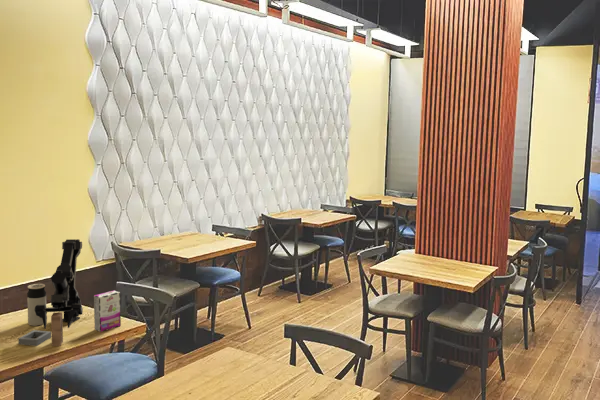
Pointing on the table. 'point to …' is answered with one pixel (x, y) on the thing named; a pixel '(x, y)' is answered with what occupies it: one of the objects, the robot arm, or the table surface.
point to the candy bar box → (107, 311)
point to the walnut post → (57, 329)
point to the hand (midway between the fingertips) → (56, 327)
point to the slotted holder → (29, 337)
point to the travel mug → (35, 302)
